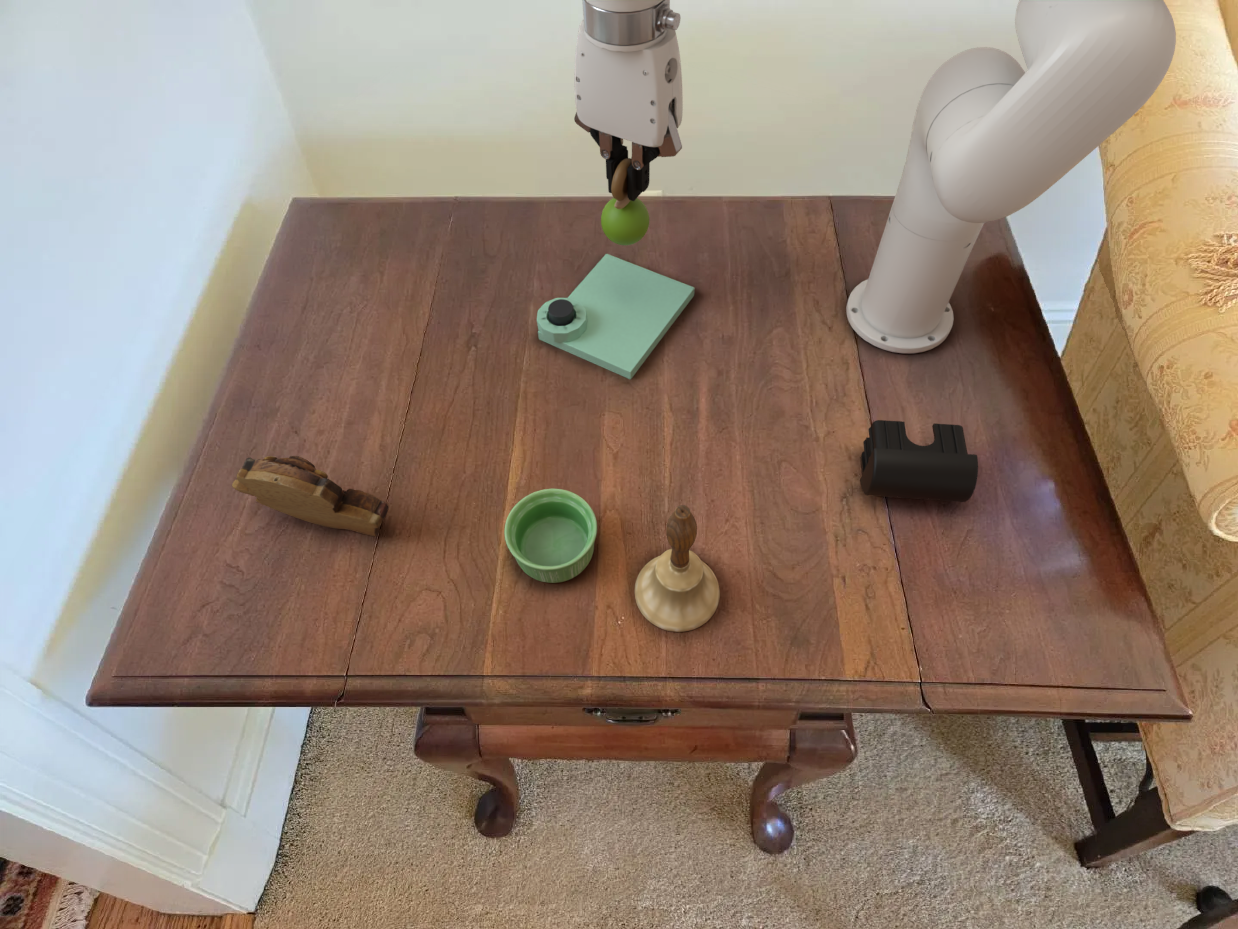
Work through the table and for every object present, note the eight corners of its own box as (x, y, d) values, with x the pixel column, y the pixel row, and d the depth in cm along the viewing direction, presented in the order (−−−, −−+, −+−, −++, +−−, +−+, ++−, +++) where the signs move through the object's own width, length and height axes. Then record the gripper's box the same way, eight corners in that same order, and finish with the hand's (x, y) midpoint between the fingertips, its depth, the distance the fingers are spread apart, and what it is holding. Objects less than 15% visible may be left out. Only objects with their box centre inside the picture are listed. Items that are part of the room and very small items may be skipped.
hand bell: (713, 639, 73) (729, 563, 60) (627, 623, 74) (623, 545, 61) (724, 561, 77) (741, 474, 64) (643, 547, 78) (643, 459, 65)
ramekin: (515, 509, 81) (509, 487, 78) (601, 511, 81) (599, 488, 77) (505, 588, 76) (498, 568, 73) (596, 590, 76) (594, 570, 72)
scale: (600, 259, 103) (599, 241, 100) (694, 295, 98) (695, 277, 96) (530, 339, 95) (527, 321, 92) (628, 382, 91) (628, 365, 88)
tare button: (558, 305, 94) (557, 295, 93) (579, 313, 93) (578, 304, 92) (544, 320, 93) (543, 311, 92) (565, 329, 92) (564, 320, 91)
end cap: (860, 509, 80) (876, 473, 75) (855, 453, 84) (870, 415, 79) (959, 516, 80) (983, 481, 74) (949, 459, 84) (971, 421, 78)
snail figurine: (659, 226, 90) (665, 133, 80) (636, 261, 87) (639, 168, 77) (617, 213, 92) (617, 120, 82) (593, 246, 88) (590, 154, 78)
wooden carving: (406, 511, 82) (379, 458, 73) (390, 549, 79) (361, 498, 71) (263, 486, 84) (221, 431, 75) (243, 522, 81) (197, 470, 73)
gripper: (724, 15, 68) (708, 193, 84) (573, -25, 73) (585, 150, 88) (683, 56, 65) (675, 233, 80) (528, 11, 69) (548, 186, 85)
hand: (627, 188), depth 84 cm, fingers closed on snail figurine
